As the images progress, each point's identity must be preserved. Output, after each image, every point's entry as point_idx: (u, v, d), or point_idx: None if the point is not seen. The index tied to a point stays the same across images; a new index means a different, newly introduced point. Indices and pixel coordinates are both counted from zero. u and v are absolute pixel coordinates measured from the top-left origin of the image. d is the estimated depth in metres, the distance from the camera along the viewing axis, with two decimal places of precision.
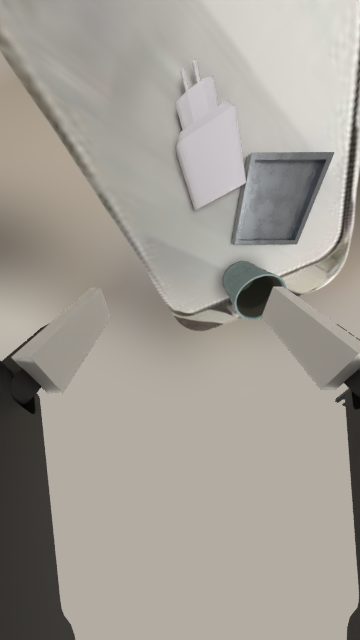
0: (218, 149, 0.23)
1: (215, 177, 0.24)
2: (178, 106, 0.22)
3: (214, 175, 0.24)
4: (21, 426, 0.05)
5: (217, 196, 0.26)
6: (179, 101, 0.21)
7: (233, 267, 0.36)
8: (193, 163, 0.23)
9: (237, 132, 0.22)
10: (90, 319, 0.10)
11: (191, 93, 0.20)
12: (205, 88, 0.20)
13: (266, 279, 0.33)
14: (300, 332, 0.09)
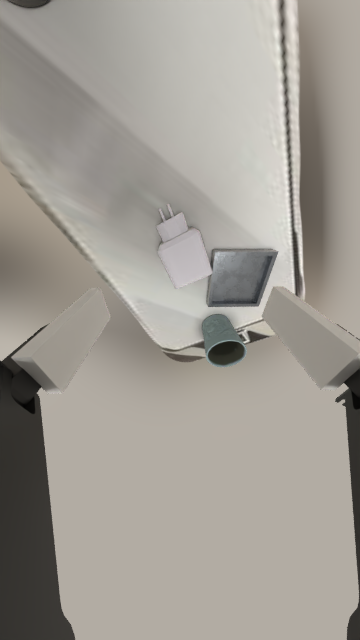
0: (188, 256, 0.30)
1: (188, 271, 0.32)
2: (158, 228, 0.29)
3: (187, 270, 0.32)
4: (21, 426, 0.05)
5: (190, 282, 0.34)
6: (158, 226, 0.29)
7: (209, 320, 0.43)
8: (170, 263, 0.31)
9: (202, 246, 0.29)
10: (90, 319, 0.10)
11: (166, 223, 0.28)
12: (176, 220, 0.28)
13: None
14: (300, 332, 0.09)
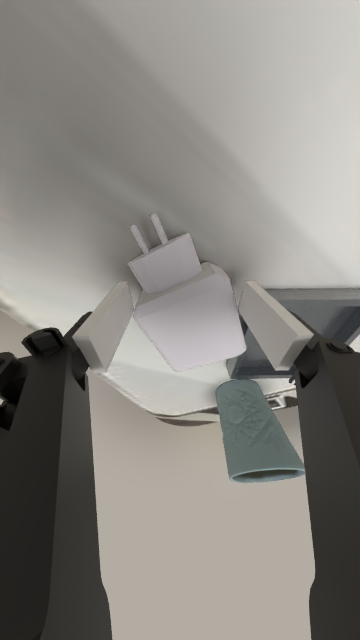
0: (201, 326, 0.14)
1: (198, 349, 0.16)
2: (131, 268, 0.13)
3: (196, 348, 0.15)
4: (77, 400, 0.06)
5: (202, 364, 0.17)
6: (132, 264, 0.12)
7: (229, 392, 0.26)
8: (161, 338, 0.15)
9: (232, 308, 0.13)
10: (121, 309, 0.11)
11: (150, 260, 0.12)
12: (175, 254, 0.11)
13: None
14: (262, 321, 0.10)
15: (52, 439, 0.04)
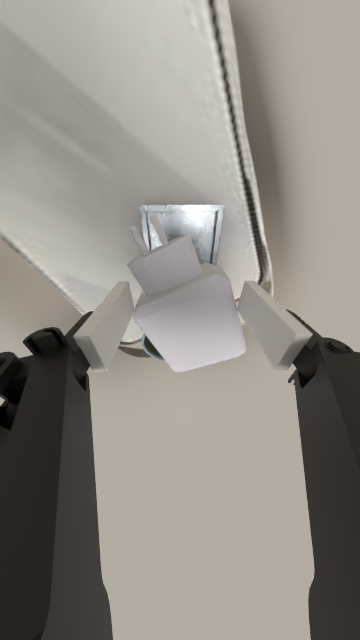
0: (201, 327, 0.14)
1: (198, 350, 0.16)
2: (131, 269, 0.13)
3: (196, 348, 0.15)
4: (78, 400, 0.06)
5: (202, 365, 0.17)
6: (132, 265, 0.12)
7: None
8: (161, 338, 0.15)
9: (232, 309, 0.13)
10: (122, 309, 0.11)
11: (150, 261, 0.12)
12: (175, 255, 0.11)
13: None
14: (262, 320, 0.10)
15: (53, 439, 0.04)
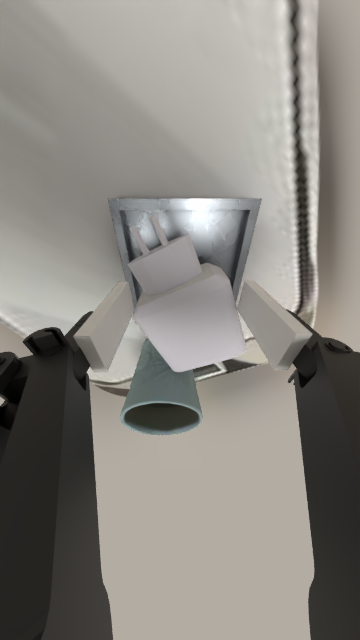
0: (201, 327, 0.14)
1: (198, 350, 0.16)
2: (131, 269, 0.13)
3: (196, 348, 0.15)
4: (78, 400, 0.06)
5: (202, 365, 0.17)
6: (132, 265, 0.12)
7: (147, 344, 0.24)
8: (161, 338, 0.15)
9: (232, 309, 0.13)
10: (122, 309, 0.11)
11: (150, 261, 0.12)
12: (175, 255, 0.11)
13: None
14: (262, 320, 0.10)
15: (53, 439, 0.04)
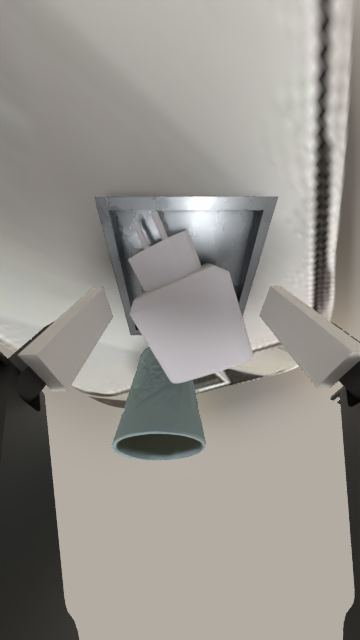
0: (201, 324, 0.13)
1: (198, 354, 0.14)
2: (132, 264, 0.13)
3: (196, 352, 0.14)
4: (27, 423, 0.05)
5: (204, 374, 0.15)
6: (132, 259, 0.12)
7: (144, 357, 0.22)
8: (158, 338, 0.13)
9: (234, 304, 0.12)
10: (93, 318, 0.10)
11: (150, 253, 0.12)
12: (174, 247, 0.12)
13: None
14: (296, 331, 0.09)
15: None
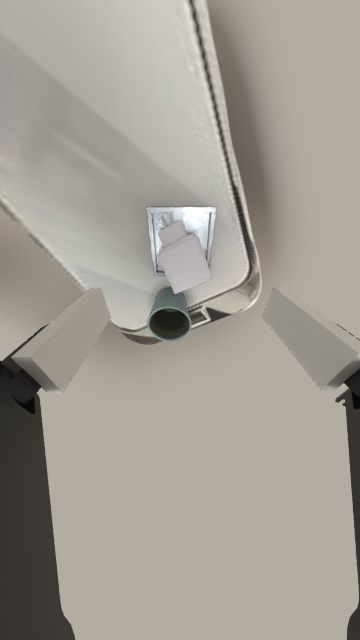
0: (188, 259, 0.31)
1: (187, 275, 0.32)
2: (159, 234, 0.31)
3: (186, 274, 0.32)
4: (21, 426, 0.05)
5: (190, 286, 0.33)
6: (159, 232, 0.30)
7: (159, 293, 0.40)
8: (169, 266, 0.31)
9: (201, 250, 0.30)
10: (90, 319, 0.10)
11: (167, 229, 0.30)
12: (176, 227, 0.30)
13: None
14: (300, 332, 0.09)
15: None
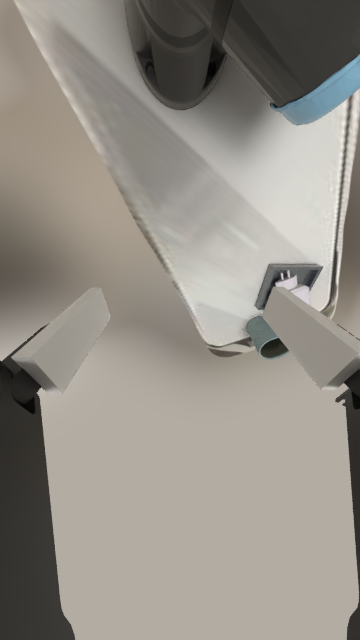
0: None
1: None
2: (277, 284, 0.42)
3: None
4: (21, 426, 0.05)
5: None
6: (278, 283, 0.42)
7: (255, 321, 0.52)
8: None
9: (309, 296, 0.42)
10: (90, 319, 0.10)
11: (285, 281, 0.41)
12: (293, 280, 0.41)
13: None
14: (300, 332, 0.09)
15: None
